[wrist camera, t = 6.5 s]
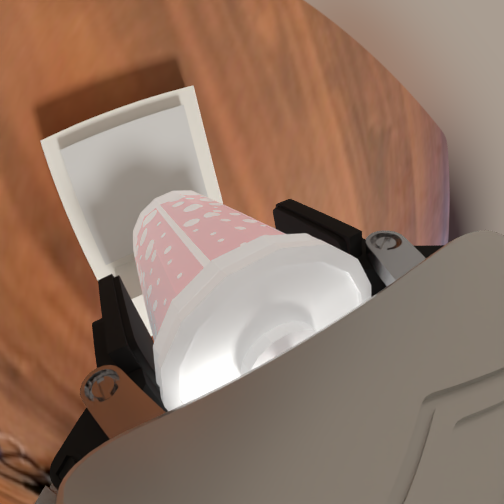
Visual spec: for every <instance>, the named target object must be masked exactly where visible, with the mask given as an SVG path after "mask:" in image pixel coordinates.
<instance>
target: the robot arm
mask: <svg viewBox="0 0 504 504" xmlns="http://www.w3.org/2000/svg"><path fill="white" fill-rule="evenodd" d="M273 215H274V221H275V226H276V229H277V230H279V231H281V232H283V233H285V234H301V233H306V234H309V235H311V236H313V237H315V238H317V239H319V240H322V241H324V242H326V243H328V244H330V245H332V246H334V247H336V248H338V249H340V250H342V251H344V252H346V253H348V254H350V255H352V256H353V257H355V258H357V259H358V260H359V262H360V264H361V266H362V268H363V270H364V272H365V274H366V276H367V278H368V280H369V282H370V284H371V298H369V299H368V300H366V301H365V302H363V303H362V304H360V305H359V306H357V307H356V308H354V309H353V310H351V311H350V312H348V313H347V314H345V315H344V316H342V317H340V318H339V319H337V320H336V321H334V322H333V323H331V324H329V325H328V326H326V327H325V328H323V329H321V330H320V331H318V332H316V333H315V334H313V335H312V336H310V337H308V338H307V339H305V340H303V341H302V342H300V343H298V344H296V345H295V346H293V347H291V348H290V349H288V350H286V351H284V352H283V353H281V354H279V355H277V356H276V357H274V358H272V359H270V360H269V361H267V362H265V363H263V364H261V365H260V366H258V367H256V368H254V369H252V370H250V371H249V372H247V373H245V374H243V375H241V376H239V377H237V378H235V379H234V380H232V381H230V382H228V383H226V384H224V385H222V386H220V387H218V388H216V389H214V390H212V391H210V392H208V393H206V394H204V395H202V396H200V397H198V398H196V399H194V400H191V401H189V402H187V403H185V404H183V405H181V406H179V407H177V408H175V409H172V410H170V411H168V410H167V409H166V408H165V407H164V404H163V402H162V399H161V394H160V387H159V385H158V384H157V382H156V373H155V364H154V353H153V344H154V343H153V340H152V338H151V336H150V334H149V332H148V330H147V328H146V326H145V324H144V322H143V321H142V319H141V317H140V315H139V313H138V311H137V309H136V307H135V305H134V304H133V302H132V300H131V298H130V296H129V294H128V292H127V290H126V288H125V286H124V284H123V282H122V280H121V278H120V276H119V275H118V276H116V277H114V276H113V274H110V275H108V276H106V277H104V278H102V279H100V280H98V284H99V294H100V303H101V311H102V318H101V319H99V320H97V321H95V322H93V323H92V329H93V339H94V348H95V356H96V364H97V368H96V369H95V370H93V371H92V372H90V373H89V374H88V375H87V376H86V377H85V379H84V381H83V382H82V385H81V388H80V397H81V399H82V401H83V403H84V404H85V406H86V407H87V408H86V409H85V411H84V412H83V414H82V415H81V417H80V418H79V420H78V421H77V423H76V425H75V426H74V428H73V429H72V431H71V432H70V434H69V435H68V437H67V439H66V440H65V442H64V443H63V445H62V447H61V448H60V450H59V451H58V453H57V455H56V456H55V458H54V460H53V462H52V464H51V468H50V478H51V481H52V485H51V486H50V488H48V487H47V486H45V488H44V489H43V491H42V493H41V494H40V496H39V498H38V499H37V501H36V503H35V504H504V235H502V234H499V233H497V232H493V231H489V230H486V231H485V230H484V231H476V232H472V233H469V234H465V235H463V236H461V237H458V238H456V239H455V240H453V241H451V242H449V243H447V244H446V245H444V246H413V245H412V244H411V243H410V242H409V241H408V240H407V239H406V238H405V237H404V236H402V235H401V234H399V233H396V232H393V231H377V232H374V233H372V234H370V235H369V236H368V237H367V238H366V240H365V239H363V238H362V231H360V230H358V229H356V228H354V227H352V226H350V225H348V224H345V223H343V222H341V221H339V220H337V219H335V218H332V217H330V216H328V215H326V214H324V213H321V212H319V211H317V210H315V209H312V208H310V207H308V206H306V205H303V204H301V203H299V202H296V201H294V200H292V199H288V200H285V201H283V202H280V203H278V204H276V208H275V209H274V210H273Z"/></svg>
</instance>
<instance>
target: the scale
mask: <svg viewBox="0 0 504 504" xmlns="http://www.w3.org/2000/svg"><path fill="white" fill-rule="evenodd" d="M41 145H42V148H43V151H44V154H45V157H46V160H47V163H48V166H49V169H50V172H51V174H52V177H53V180H54V183H55V185H56V188H57V191H58V193H59V196H60V198H61V201H62V203H63V206H64V208H65V211H66V213H67V216H68V218H69V220H70V223H71V225H72V227H73V230H74V232H75V234H76V236H77V239H78V241H79V243H80V245H81V247H82V249H83V252H84V254H85V256H86V258H87V260H88V262H89V264H90V266H91V268H92V270H93V272H94V274H95V276H96V278H97V280H100V279H102V278H104V277H106V276H108V275H110V274H113V276H114V277H116V276H118V275H119V276H120V278H121V280H122V282H123V284H124V286H125V288H126V290H127V292H128V294H129V296H130V298H131V300H132V302H133V304H134V305H135V307H136V309H137V311H138V313H139V315H140V317H141V319H142V321H143V322H144V324H145V326H146V328H147V330H148V332H149V334H150V336H152V335H153V334H152V330H151V327H150V323H149V319H148V315H147V311H146V307H145V302H144V298H143V294H142V289H141V285H140V280H139V276H138V271H137V266H136V261H135V256H134V251H133V230H134V228H135V225H136V223H137V220H138V218H139V215H140V213H141V212H142V211H143V210H144V209H145V208H146V207H147V206H148V205H149V204H150V203H151V202H152V201H153V200H154V199H155V198H157V197H160V196H162V195H164V194H166V193H169V192H171V191H190V190H192V191H194V192H196V193H199V194H201V195H203V196H206V197H208V198H210V199H212V200H215V201H217V202H219V203H221V204H223V202H222V198H221V194H220V190H219V186H218V182H217V178H216V174H215V170H214V166H213V162H212V159H211V155H210V151H209V147H208V143H207V139H206V135H205V131H204V127H203V123H202V119H201V115H200V110H199V106H198V102H197V98H196V94H195V90H194V86H189V87H185V88H182V89H178V90H174V91H170V92H167V93H163V94H160V95H157V96H153V97H150V98H147V99H144V100H140V101H137V102H134V103H131V104H128V105H125V106H123V107H120V108H117V109H114V110H111V111H109V112H106V113H103V114H101V115H98V116H96V117H93V118H91V119H88V120H86V121H83V122H81V123H78V124H76V125H74V126H71V127H69V128H67V129H64V130H62V131H60V132H58V133H56V134H54V135H51V136H49V137H47V138H45V139H43V140H41Z"/></svg>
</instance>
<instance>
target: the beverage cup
mask: <svg viewBox="0 0 504 504" xmlns="http://www.w3.org/2000/svg"><path fill="white" fill-rule="evenodd" d="M133 251H134V256H135V261H136V266H137V271H138V276H139V280H140V285H141V289H142V294H143V298H144V302H145V307H146V311H147V315H148V319H149V323H150V327H151V330H152V334H153V338H154V344H153V353H154V364H155V373H156V382H157V384H158V385H159V387H160V394H161V399H162V402H163V404H164V407H165V408H166V409H167V410H168V411H170V410H172V409H175V408H177V407H179V406H181V405H183V404H185V403H187V402H189V401H191V400H194V399H196V398H198V397H200V396H202V395H204V394H206V393H208V392H210V391H212V390H214V389H216V388H218V387H220V386H222V385H224V384H226V383H228V382H230V381H232V380H234V379H235V378H237V377H239V376H241V375H243V374H245V373H247V372H249V371H250V370H252V369H254V368H256V367H258V366H260V365H261V364H263V363H265V362H267V361H269V360H270V359H272V358H274V357H276V356H277V355H279V354H281V353H283V352H284V351H286V350H288V349H290V348H291V347H293V346H295V345H296V344H298V343H300V342H302V341H303V340H305V339H307V338H308V337H310V336H312V335H313V334H315V333H316V332H318V331H320V330H321V329H323V328H325V327H326V326H328V325H329V324H331V323H333V322H334V321H336V320H337V319H339V318H340V317H342V316H344V315H345V314H347V313H348V312H350V311H351V310H353V309H354V308H356V307H357V306H359V305H360V304H362V303H363V302H365V301H366V300H368V299H369V298H371V284H370V282H369V280H368V278H367V276H366V274H365V272H364V270H363V268H362V266H361V264H360V262H359V260H358V259H357V258H355V257H353V256H352V255H350V254H348V253H346V252H344V251H342V250H340V249H338V248H336V247H334V246H332V245H330V244H328V243H326V242H324V241H322V240H319V239H317V238H315V237H313V236H311V235H309V234H306V233H301V234H285V233H283V232H281V231H279V230H277V229H275V228H272V227H270V226H268V225H266V224H264V223H262V222H260V221H258V220H255V219H253V218H251V217H249V216H247V215H245V214H243V213H241V212H238V211H236V210H234V209H232V208H230V207H228V206H225V205H223V204H221V203H219V202H217V201H215V200H212V199H210V198H208V197H206V196H203V195H201V194H199V193H196V192H194V191H192V190H190V191H171V192H169V193H166V194H164V195H162V196H160V197H157V198H155V199H154V200H153V201H152V202H151V203H150V204H149V205H148V206H147V207H146V208H145V209H144V210H143V211H142V212H141V213H140V215H139V218H138V220H137V223H136V225H135V228H134V230H133Z"/></svg>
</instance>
